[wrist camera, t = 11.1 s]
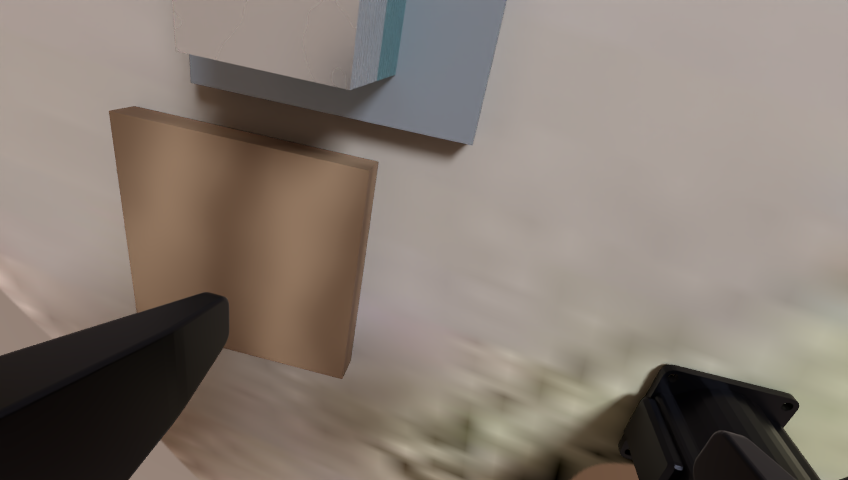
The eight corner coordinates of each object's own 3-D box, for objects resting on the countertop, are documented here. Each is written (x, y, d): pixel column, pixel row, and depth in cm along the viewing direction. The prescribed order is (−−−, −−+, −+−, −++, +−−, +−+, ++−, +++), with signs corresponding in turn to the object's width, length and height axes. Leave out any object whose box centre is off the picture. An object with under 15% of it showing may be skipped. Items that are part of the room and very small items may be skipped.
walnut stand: (378, 161, 20) (369, 170, 18) (350, 360, 25) (342, 379, 24) (134, 106, 21) (108, 110, 19) (157, 310, 26) (138, 325, 24)
